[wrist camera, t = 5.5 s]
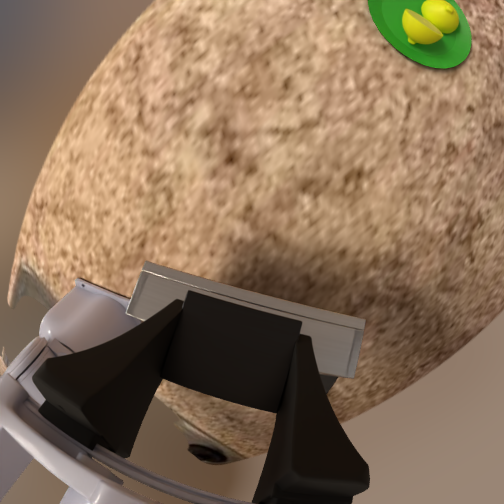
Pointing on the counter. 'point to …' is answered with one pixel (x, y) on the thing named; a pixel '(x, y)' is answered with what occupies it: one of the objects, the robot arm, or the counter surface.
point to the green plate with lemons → (424, 30)
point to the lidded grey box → (241, 337)
